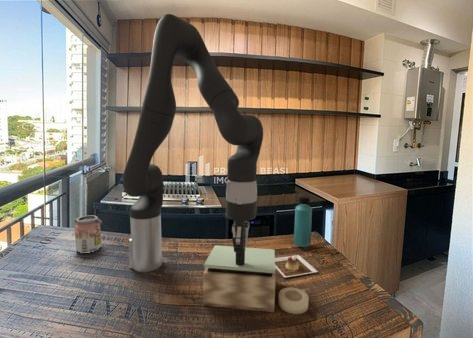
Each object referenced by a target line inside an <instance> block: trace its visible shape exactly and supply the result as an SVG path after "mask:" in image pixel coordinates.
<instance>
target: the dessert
mask: <svg viewBox="0 0 473 338" xmlns="http://www.w3.org/2000/svg"><path fill="white" fill-rule="evenodd" d="M298 260H299V261H300V262H301V264H302V265H304V266H305V267H307V269H309V270H310V271H311V272H310V271H309V272H305V273H300V274H293V275H287V276H286V274H284V272H283V271H282V270H281V269H280V268H279V267H278V266H277V265H276V264H275V270H277V271H278V272H279V274H281V276H282V277H283V278H286V279H287V278H290V277H291V278H292V277H298V276H303V275H308V274H309V275H310V274H315V273H319V271H318V270H317V269H316V268H315V267H314V266H313V265H311V264H310V263H309V262H308V261H307V260H305V258H303V257H302V256H300V254H297V255H296V254H294V255H288V256H282V257H275V263H276V262H283V261H286V263H285V264H284V265H285V267H284V268H286V269H287V270H289V271H299V269H300V265H299V261H298Z"/></svg>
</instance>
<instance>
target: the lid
mask: <svg viewBox="0 0 473 338" xmlns="http://www.w3.org/2000/svg"><path fill="white" fill-rule="evenodd" d="M275 252H276V251H275V249H270V248H257V247H256V248H255V247H246V250H245V263H244V265H236V252H234V247H233V246H230V245H229V246H227V245H214V246H213V247H212V249H211V251H210V253H209V255H208V256H207V259H206V260H205V262H204V264H203V268H204V269H205V268H216V269H228V270H240V271H253V272H265V273H275V274H276V268H275V265H276V262H275V258H276V255H275V254H276V253H275Z"/></svg>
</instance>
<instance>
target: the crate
mask: <svg viewBox="0 0 473 338" xmlns="http://www.w3.org/2000/svg"><path fill="white" fill-rule="evenodd" d="M202 277H203V279H202V280H203V281H202V282H203V288H202V289H203V291H202V293H203V294H202V296H203V297H202V298H203V300H202V302H203V306H207V307H217V308H225V309H226V308H228V309H237V310H247V311H256V312H257V311H258V312H268V313H275V298H276V272H275V273H265V272H253V271H240V270H228V269H216V268H204V271H203V276H202Z"/></svg>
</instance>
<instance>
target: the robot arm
mask: <svg viewBox="0 0 473 338" xmlns="http://www.w3.org/2000/svg"><path fill="white" fill-rule="evenodd" d="M152 42H153V43H152V49H151V50H152V51H151V58H150V66H149V73H148V77H147V81H146V87H145V92H144V97H143V100H142V103H141V104H142V105H141V108H140V113H139V118H138V122H137V128H136V131H135V135H134V140H133V143H132V146H131V147H132V148H131V151H130V152H129V156H128V159H127V161H126V165H125V167H124V171H123V175H122V188H123V191H124V192H125V194H126V195H128V196H130V197H131V198H132V197H133V198H136V197H139V198H138V199H137V200H136V202H135V203H133V204H132V205H131V207H130V208H129V220H130V222H129V223H130V238H129V240H128V254H129V255H128V259H129V269H131V268H132V270H133V271H136V272H139V273H147V272H152V271H156V270H157V269H159V268H160V267H161V266H162V265H163V255H162V254H163V252H162V249H163V248H162V219H161V218H162V216H161V210H162V207H163V203H164V176H163V173H162V170H161V169H160V167H159V166H157V165H156V164H154V163H151V161H152V160H153V156H154V155H155V154H156V152H157V150H158V149H159V147H160V146H161V145H162V143H163V142H164V141H165V140H166V139H167V136H168V135H169V133H170V132H171V129H172V127H173V123H174V119H175V116H176V111H177V102H176V96H175V92H174V87H173V84H172V69H173V65H174V64H173V63H174V60H175V58H177V59H181V60H184V61H185V62H186V63H187V64H188V65H189V66H190V67H191V68H192V70H193V71H194V74H195V75H196V78H197V79H196V81H197V87H198V90H199V93H200V94H201V96H202V98H203V100H204V101H205V102H206V105H208V107H209V108H210V110H211V111H212V114H213V116H214V119H215V123H216V125H217V128H218V131H219V133H220V135H221V137H222V138H223V140H225V142H226V143H228V144H230V145H232V146H237V147H236V152H235V153H234V154H233V155H231V156H230V157H229V158H228V159H227V171H226V172H227V174H226V175H227V176H226V177H227V181H226V188H225V216H226V217H227V218H228V219H229V220H233V224H232V225H231V233H232V239H231V241H232V247H234V252H236V265H244V263H245V250H246V248H247V243H248V239H249V229H250V221H252V220H254V219H255V218H256V217H257V210H258V209H257V208H258V207H257V206H258V183H257V167H258V165H257V163H258V160H259V156H260V153H261V148H262V144H263V139H264V127H263V124H262V121H261V120H260V119H259V118H258V117H257V116H256V115H251V114H242V113H240V111H239V110H238V108H239V105H240V101H239V97H238V96H237V94H236V92H235V91H234V90H233V88H232V87H231V85H230V84H229V82H228V81H227V80H226V79H225V77H224V76H223V74H222V73H221V72H220V70H219V68H218V67H217V65H216V63H215V62H214V60H213V58H212V56H211V54H210V52H209V50H208V48H207V46H206V44H205V42H204V40H203V37H202V36H201V33H200V31H199V30H198V29H197V27H196V26H194V25H193V24H191V23H190V22H188V21H185V20H184V19H182V18H180V17H178V16H176V15H174V14H171V13H166V14H163V16H162V17H161V18H160V19H159V21H158V22H157V25H156V27H155V31H154V35H153V40H152Z"/></svg>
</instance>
